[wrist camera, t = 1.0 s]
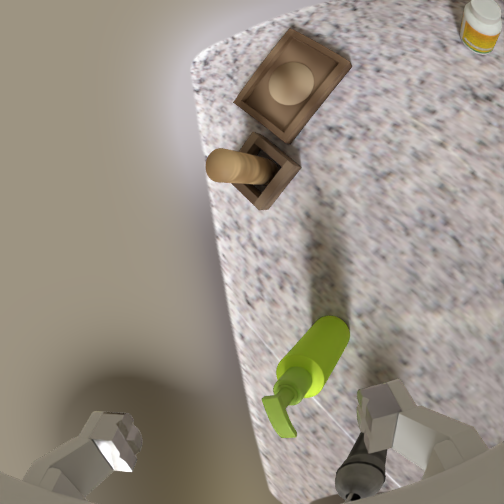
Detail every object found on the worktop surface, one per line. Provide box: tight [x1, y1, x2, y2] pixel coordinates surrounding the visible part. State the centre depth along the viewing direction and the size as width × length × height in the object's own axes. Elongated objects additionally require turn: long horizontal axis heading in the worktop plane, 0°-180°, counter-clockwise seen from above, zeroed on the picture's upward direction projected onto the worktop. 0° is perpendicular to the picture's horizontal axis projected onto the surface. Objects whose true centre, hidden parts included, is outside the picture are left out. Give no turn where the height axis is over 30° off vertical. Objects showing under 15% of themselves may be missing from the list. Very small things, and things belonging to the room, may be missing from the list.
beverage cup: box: [335, 432, 387, 503], centre depth 34 cm, size 7×7×20 cm
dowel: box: [206, 148, 278, 185], centre depth 41 cm, size 4×4×12 cm
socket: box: [231, 132, 301, 210], centre depth 45 cm, size 8×8×3 cm
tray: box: [233, 28, 352, 144], centre depth 41 cm, size 15×11×2 cm
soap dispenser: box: [262, 316, 350, 438], centre depth 36 cm, size 6×7×20 cm
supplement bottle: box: [460, 0, 502, 55], centre depth 23 cm, size 5×5×10 cm
